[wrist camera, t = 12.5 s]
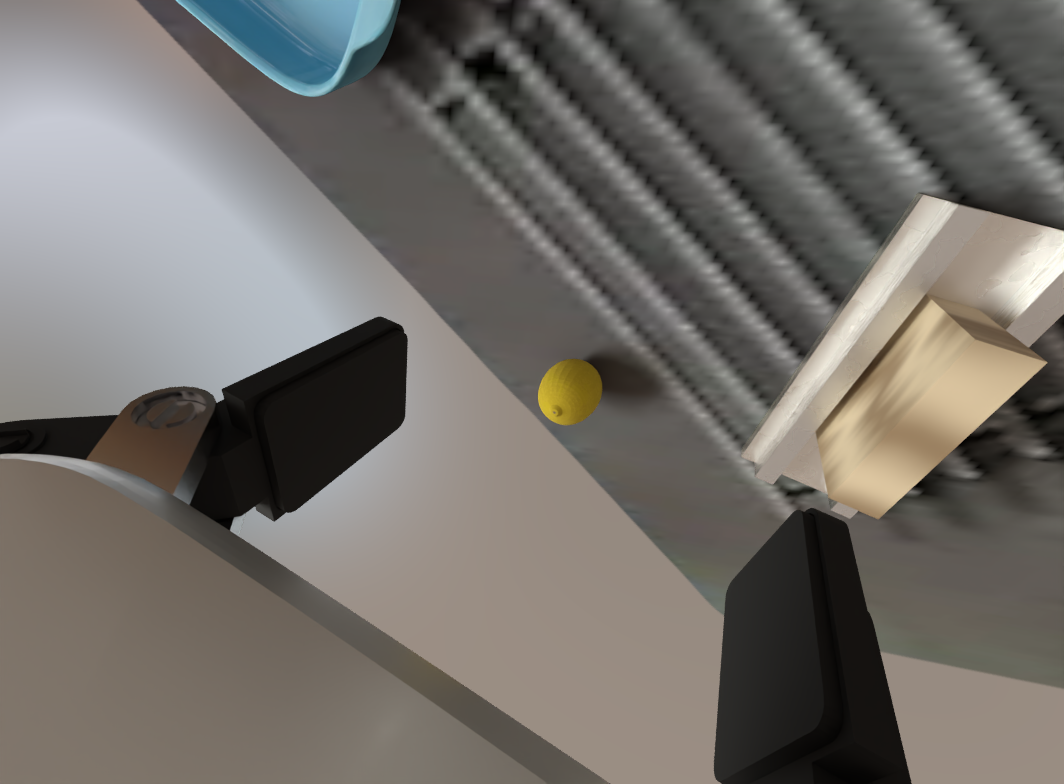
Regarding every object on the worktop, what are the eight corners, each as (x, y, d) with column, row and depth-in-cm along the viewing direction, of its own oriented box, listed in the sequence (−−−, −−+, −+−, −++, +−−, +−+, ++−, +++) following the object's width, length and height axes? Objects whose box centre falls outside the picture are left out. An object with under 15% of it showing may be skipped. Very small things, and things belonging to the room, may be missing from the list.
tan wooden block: (924, 293, 27) (975, 339, 21) (978, 309, 26) (1047, 362, 20) (815, 431, 34) (828, 497, 28) (855, 447, 33) (878, 519, 27)
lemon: (621, 365, 40) (596, 407, 33) (596, 406, 43) (569, 451, 37) (571, 336, 40) (537, 371, 34) (550, 378, 44) (516, 417, 38)
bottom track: (917, 192, 26) (934, 198, 23) (1116, 244, 23) (1159, 256, 21) (741, 448, 38) (740, 470, 36) (858, 498, 36) (866, 525, 34)
